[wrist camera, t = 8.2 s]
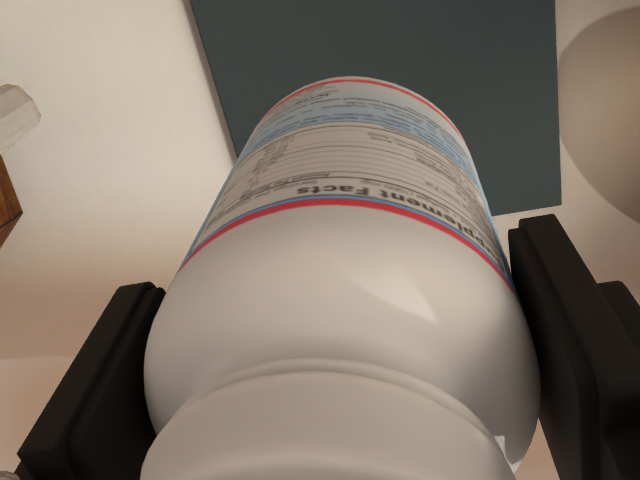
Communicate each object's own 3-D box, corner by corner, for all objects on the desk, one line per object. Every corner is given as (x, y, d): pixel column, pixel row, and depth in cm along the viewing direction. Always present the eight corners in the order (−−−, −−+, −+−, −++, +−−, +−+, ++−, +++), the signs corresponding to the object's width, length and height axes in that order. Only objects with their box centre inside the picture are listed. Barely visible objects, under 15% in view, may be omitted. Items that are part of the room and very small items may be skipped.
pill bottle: (395, 308, 18) (412, 787, 8) (209, 218, 17) (-13, 641, 8) (522, 141, 15) (763, 575, 6) (306, 20, 14) (148, 292, 5)
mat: (267, 249, 35) (266, 253, 34) (189, -9, 28) (187, -8, 28) (559, 201, 32) (561, 205, 32) (548, -95, 26) (551, -95, 25)
